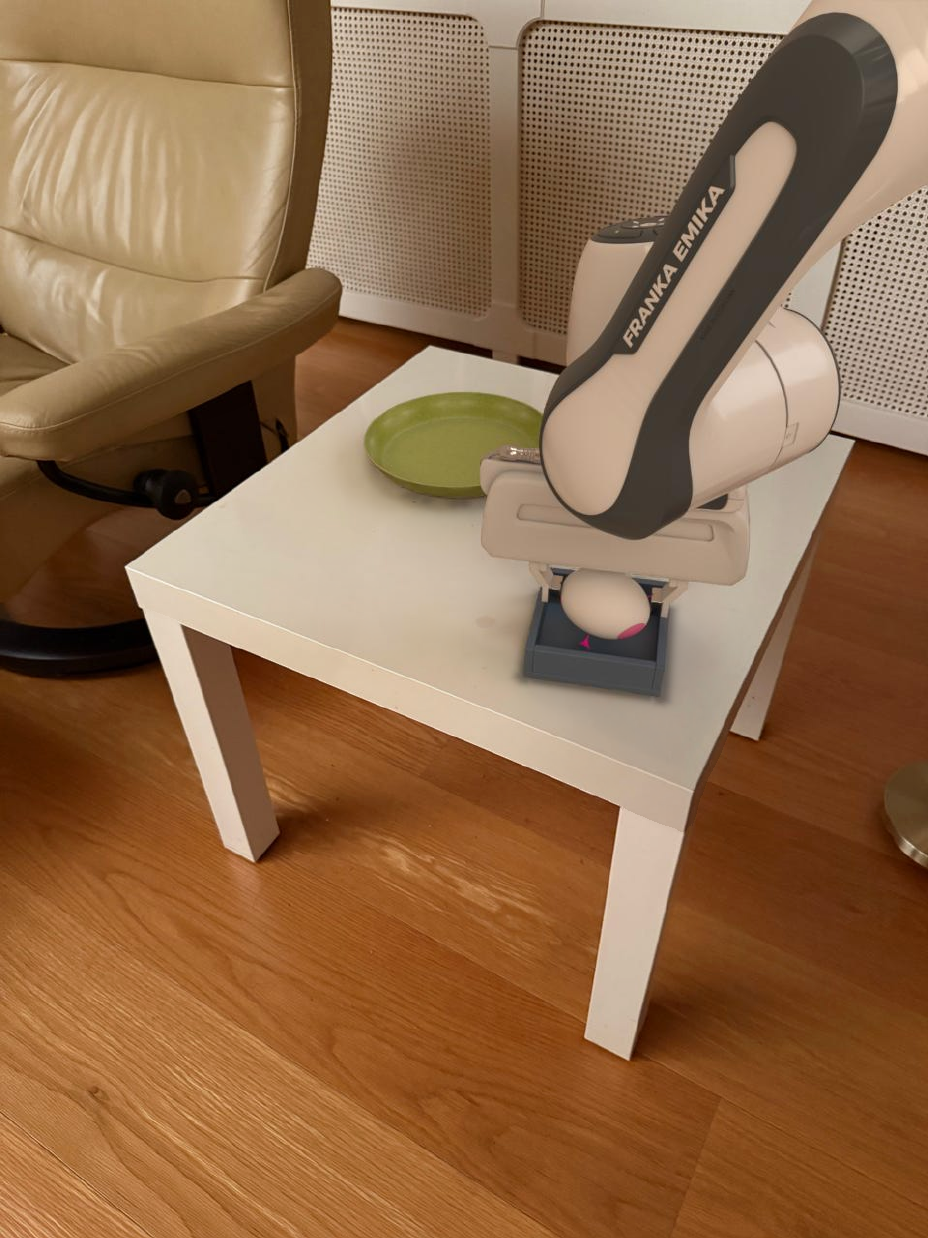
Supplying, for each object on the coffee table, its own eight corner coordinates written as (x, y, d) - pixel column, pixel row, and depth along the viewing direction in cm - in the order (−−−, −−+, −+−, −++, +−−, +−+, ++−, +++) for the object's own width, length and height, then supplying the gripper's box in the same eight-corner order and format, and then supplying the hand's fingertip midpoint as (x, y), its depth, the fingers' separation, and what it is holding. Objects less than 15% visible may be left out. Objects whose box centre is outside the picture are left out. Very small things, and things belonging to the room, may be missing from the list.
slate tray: (666, 609, 77) (671, 581, 75) (659, 696, 69) (665, 668, 67) (543, 593, 79) (545, 566, 77) (523, 676, 71) (524, 648, 69)
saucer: (535, 410, 105) (536, 385, 103) (571, 504, 90) (573, 477, 88) (362, 421, 104) (360, 396, 102) (369, 520, 88) (366, 493, 86)
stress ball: (646, 661, 75) (677, 589, 73) (615, 668, 67) (649, 588, 66) (569, 625, 78) (597, 555, 76) (532, 628, 71) (562, 551, 69)
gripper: (470, 464, 62) (472, 613, 71) (769, 495, 59) (731, 648, 68) (488, 422, 67) (488, 566, 76) (766, 448, 63) (731, 597, 72)
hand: (604, 605), depth 72 cm, fingers closed on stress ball, 7 cm apart
